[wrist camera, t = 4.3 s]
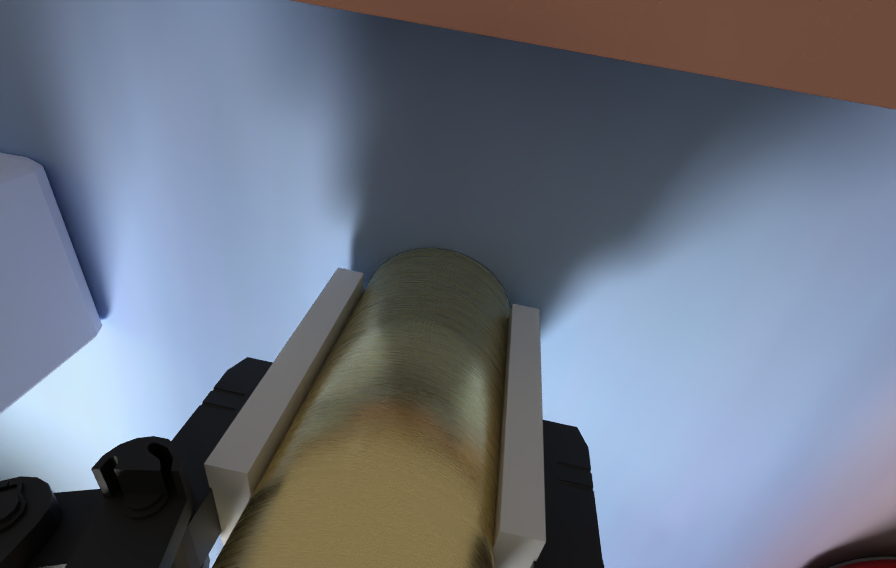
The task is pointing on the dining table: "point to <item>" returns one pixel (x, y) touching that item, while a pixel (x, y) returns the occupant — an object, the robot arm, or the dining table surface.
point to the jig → (693, 36)
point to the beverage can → (869, 563)
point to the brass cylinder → (393, 432)
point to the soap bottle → (37, 282)
